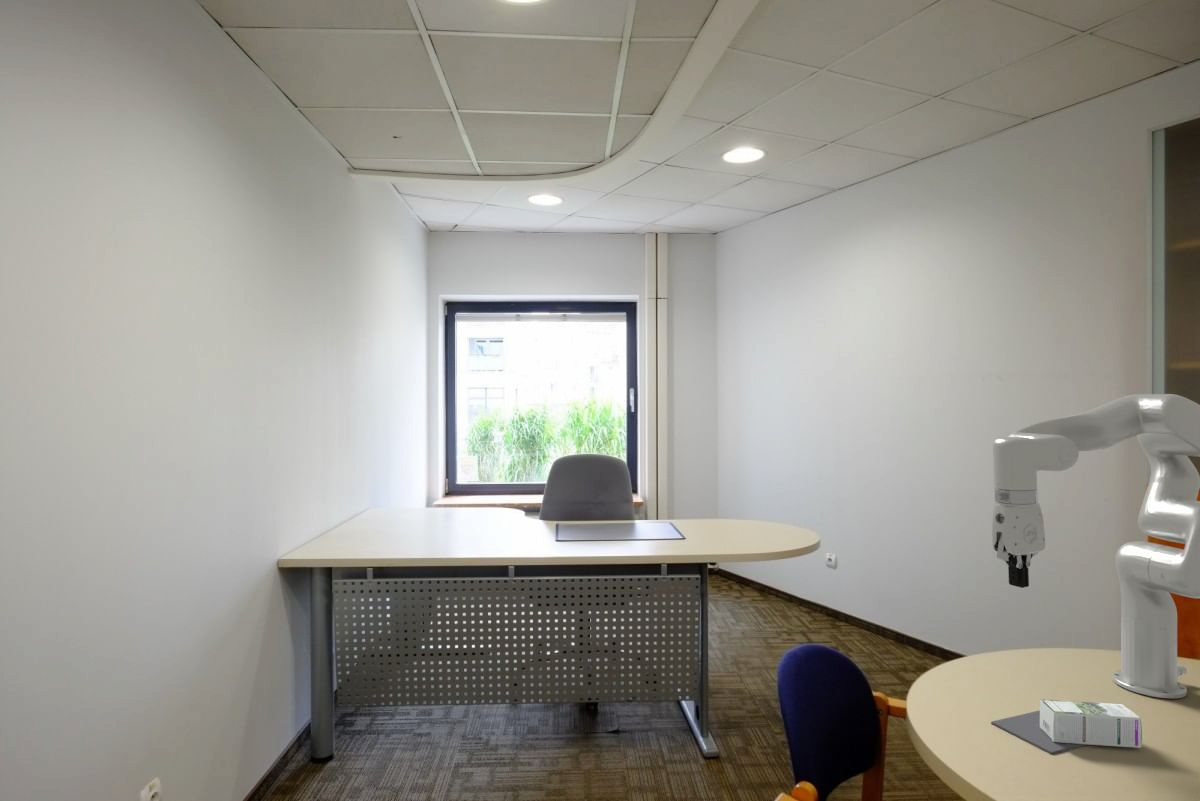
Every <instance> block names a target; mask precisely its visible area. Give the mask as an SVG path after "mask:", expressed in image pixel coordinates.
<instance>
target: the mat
mask: <svg viewBox="0 0 1200 801" xmlns="http://www.w3.org/2000/svg"><path fill="white" fill-rule="evenodd" d="M990 724H991V725H993V726H994V727H996V728H999V730H1000V729H1001V730H1002V731H1005V732H1007V733H1009V734H1010V735H1012V736H1014V737H1017V738H1018V739H1021V740H1022V741H1024V742H1026V743H1028V744H1030V745H1032V746H1035V747H1036V748H1038V749H1039V750H1042V751H1044V752H1046V753H1048V754H1050V755H1055V754H1058V753H1062V752H1067V751H1069V750H1073V749H1077V748H1080V747H1085V746H1088V744H1073V743H1060V742H1053V741H1052V739H1051V738H1050V737H1049V736H1048V735H1047V734H1046V733H1045V732H1044V731H1043V730H1042V729H1041V728H1040V709H1038V710H1036V711H1032V712H1026V713H1023V714H1018V715H1015V716H1010V717H1006V718H1005V717H1004V718H1002V719H997V720H992V721H991V722H990Z"/></svg>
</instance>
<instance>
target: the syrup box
mask: <svg viewBox="0 0 1200 801" xmlns="http://www.w3.org/2000/svg"><path fill="white" fill-rule="evenodd" d="M1039 702H1040V703H1039V710H1040V728H1041V729H1042V730H1043V731H1044V732H1045V733H1046V734H1047V735H1048V736H1049V737H1050V738H1051V739H1052V741H1053V742H1060V743H1073V744H1088V745H1089V746H1090V745H1091V746H1107V747H1118V748H1120V747H1122V748H1137V749H1141V748H1142V742H1143V725H1142V718H1141V717H1140V716H1139V715H1137V714H1136V713H1135V712H1134V711H1132V710H1131V709H1129V708H1127V707H1126V705H1124V704H1123V703H1122V704H1121V703H1107V702H1090V701H1089V702H1088V701H1075V700H1073V701H1072V700H1058V699H1044V698H1043V699H1040V700H1039ZM1088 745H1087V746H1088Z"/></svg>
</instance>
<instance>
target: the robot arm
mask: <svg viewBox="0 0 1200 801" xmlns="http://www.w3.org/2000/svg"><path fill="white" fill-rule="evenodd" d="M1134 437H1136V439H1137V442H1138V443H1139V445H1140V447H1141V449H1142V451H1143V452H1144V454H1145V455H1146V458H1147V460H1148V462H1149V466H1150V478H1149V481H1148V484H1147V489H1146V491H1145V494H1144V497H1143V500H1142V503H1141V506H1140V510H1139V513H1138V518H1137V525H1138V528H1139V530H1140V531H1141V532H1142V533H1143V534H1145V535H1146V536H1149V537H1152V538H1155V539H1159V540H1164V541H1168V542H1174V543H1177V544H1183V545H1184V548H1183V549H1182V548H1178V547H1173V546H1169V545H1164V544H1159V543H1155V542H1149V541H1143V540H1141V541H1140V540H1139V541H1138V540H1135V541H1128V542H1126V543H1124V544H1122V545H1121V546H1120V547H1119V548H1118V549H1117V551H1116V553H1115V557H1114V558H1115V559H1114V562H1115V569H1116V574H1117V577H1118V581H1119V588H1120V603H1121V604H1120V605H1121V606H1120V607H1121V608H1120V609H1121V611H1120V612H1121V613H1120V619H1121V620H1120V639H1121V641H1120V646H1121V649H1120V654H1121V656H1120V657H1121V658H1120V661H1121V663H1120V666H1121V667H1120V670H1116V671H1114V672H1112V681H1113V682H1114V683H1115V684H1117V685H1118V686H1120V687H1122V688H1124V689H1125V690H1128V691H1130V692H1134V693H1137V694H1139V695H1145V696H1148V697H1151V698H1152V697H1153V698H1154V697H1155V698H1159V699H1169V700H1170V699H1171V700H1173V699H1182V698H1184V697H1186V696H1187V693H1188V690H1187V687H1186V686H1185V685H1184V684H1183V683H1180V682H1179V681H1178V678H1179V676H1182V675H1186V674H1187V673H1188V670H1187V668H1186V667H1185V666H1184V665H1182V664H1179V665H1178V611H1177V606H1176V603H1175V601H1174V598H1173V597H1172V595H1171V594H1174V595H1178V596H1182V597H1186V598H1189V599H1190V598H1192V599H1200V501H1199V500H1198V496H1199V491H1200V473H1199V472H1198V470H1197V468H1196V466H1195V465H1194V463H1193V462H1192V461H1191V459H1190V458H1189V457H1200V404H1199V403H1197V402H1196V401H1193V400H1191V399H1189V398H1187V397H1185V396H1182V395H1179V394H1173V393H1137V394H1135V393H1134V394H1128V395H1125V396H1122V397H1118V398H1117V399H1114V400H1111V401H1109V402H1106V403H1105V404H1103V405H1098V406H1097V407H1095V408H1091V409H1090V410H1087V411H1084V412H1080V413H1075V414H1071V415H1067V416H1064V417H1063V416H1062V417H1058V418H1053V419H1049V420H1045V421H1041V422H1038V423H1033V424H1030V425H1028V426H1026V427H1023V428H1021V429H1018V430H1016V431H1014V432H1012V433H1010V434H1009V435H1008V436H1001V437H997V438H996V439H995V440H994V441H993V443H992V444H993V445H992V458H993V486H994V487H993V488H994V505H993V514H992V522H991V524H992V525H991V537H992V539H991V541H992V547H993V550H994V551H996V560H1001V561H1004V562H1005V565H1006V566H1007V568H1008V585H1010V586H1013V587H1018V588H1022V589H1023V588H1028V587H1029V586H1030V580H1029V579H1030V578H1029V567H1031V562H1032V558H1033V557H1035V556H1036V555H1038V554H1039V553H1040V552H1042V551H1043V550H1045V548H1046V533H1045V532H1046V531H1045V524H1044V517H1043V512H1042V508H1041V505H1040V503H1039V502H1038V497H1039V496H1038V477H1037V476H1038V475H1037V474H1038V472H1039V471H1043V472H1044V471H1047V472H1064V471H1066V470H1069V469H1071V468H1072V467H1073V466H1074V465H1075V464H1076V463H1077V462H1078V459H1079V456H1080V452H1091V451H1100V450H1105V449H1109V448H1111V447H1113V446H1116V445H1117V444H1120V443H1123V442H1124V441H1126V440H1129V439H1131V438H1134Z"/></svg>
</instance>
